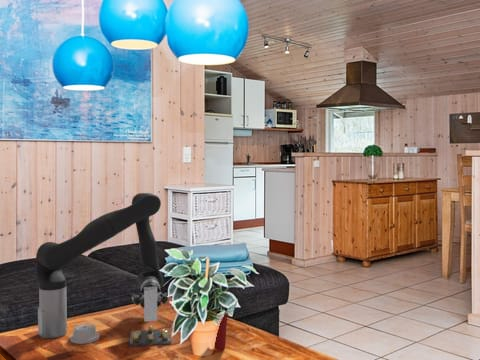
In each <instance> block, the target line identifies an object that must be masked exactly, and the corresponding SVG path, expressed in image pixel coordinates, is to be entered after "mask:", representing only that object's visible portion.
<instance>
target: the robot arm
mask: <svg viewBox="0 0 480 360" xmlns="http://www.w3.org/2000/svg"><path fill="white" fill-rule="evenodd" d="M161 204H162V203H161V199H160V197H159V196H158V195H157V194H154V193H149V192H140V193H137V194H136V195H134V196H133V198H132V200H131V204H130V205H129V206H127V207H124V208H121V209H117V210H114V211H110V212H107V213H105V214H103V215H100V216H99V217H97V218H95V219H93V220H91V221H90V222H88V223H87V224H86V225H85V226H84V227H83V228H82V229H81V231H80V232H78V234H76V235H74V236H73V237H71V238H69V239H66V240H65V241H62V242H61V243H57V242H54V241H46V242H44V243H42V244H41V245H40V246H39V247H38V249H37V251H36V254H35V255H36V256H35V261H36V262H35V264H36V266H35V268H36V278H37V282H38V293H39V295H38V296H39V297H38V299H39V300H38V301H39V305H38V306H39V307H38V308H37V329H38V330H37V333H38V335H39V337H40V338H41V339H55V338H60V337H63V336H65V335H66V334H67V333H68V318H67V317H68V315H67V313H68V311H67V308H68V307H67V306H68V305H67V279H66V277H65V275H64V273H63V268H65V267H66V266H68V265H69V264H70V263H72V262H73V261H75V260H76V259H77V258H79V257H80V256H82V255H83V254H85V253H86V252H89V251H90V250H92V249H93V248H96V247H97V246H99V245H102V244H103V243H104V242H107V241H108V240H111V239H112V238H114V237H115V236H117V235H118V234H120V233H122V232H124V231H125V230H127V229H128V228H130V227H131V226H133V225H135V228H136V231H137V236H138V243H139V245H138V246H139V258H140V260H139V261H140V265H141V266H143V267H145V268H146V267H147V268H151V269H152V270H151V271H142V272H140V273H139V274H138V275H137V285H138V287H139V289H140V292H139V294H136V293H132V294H131V301H132V303H133V304H134V305H136V306H139V305H140V307H142V309H144V287H156V286H157V308H160V307H161V306H162V304H167V302H168V301H169V300H170V296H169V297H167V296H168V291H167V292H164V293H163V292H162V291H161V287H162V286H163V285H164V281H165V280H164V276H163V274H162V271H161V272H160V271H159V270H161V268H160V264H159V259H158V246H157V242H156V239H155V235H154V234H153V231H152V227H151V223H150V218H151V217H152V216H154V215H156V214H157V213H158V212H159V211H160V209H161V206H162V205H161Z"/></svg>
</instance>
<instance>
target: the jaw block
mask: <svg viewBox="0 0 480 360" xmlns="http://www.w3.org/2000/svg"><path fill="white" fill-rule="evenodd" d="M143 310H144V311H143V313H144V314H143V316H144V317H143V319H144V320H143V321H144V322H157V321H158V307H157V286H156V287H144V308H143Z"/></svg>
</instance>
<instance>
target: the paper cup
mask: <svg viewBox="0 0 480 360" xmlns="http://www.w3.org/2000/svg"><path fill="white" fill-rule="evenodd" d="M227 325H228V312H226V313H225V315H224V317H223V319H222V321H221V323H220V326H219V330H218V333H217V337H216V342H215V351H216V352H219V351H223V350H224V349H225V348H226V342H227V341H226V340H227V327H228V326H227ZM215 351H214V352H215Z"/></svg>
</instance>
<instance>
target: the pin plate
mask: <svg viewBox="0 0 480 360" xmlns="http://www.w3.org/2000/svg"><path fill="white" fill-rule="evenodd" d="M147 327H148V328H147V329H145V330H140V329H139V330H131V331H130V337H129V347H141V346H143V347H144V346H157V345H159V346H160V345H161V346H162V345H172V339H171V337H172V336H171V330H170V328H168V329H167V328H166V329H165V328H161V329H153V328H154V327H153V325H148V326H147Z"/></svg>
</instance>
